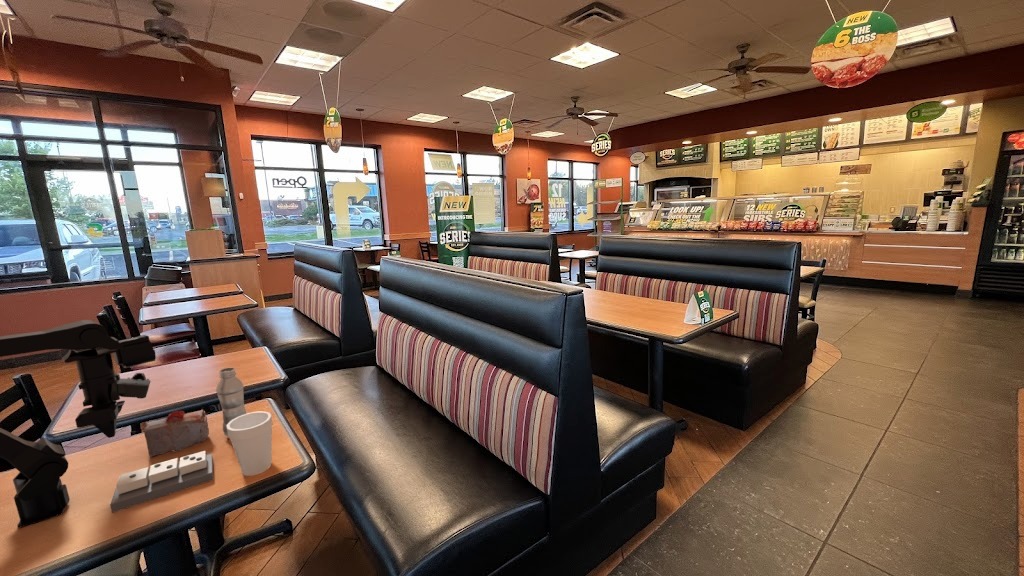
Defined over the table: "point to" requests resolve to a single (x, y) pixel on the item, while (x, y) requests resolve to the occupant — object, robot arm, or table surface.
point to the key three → (193, 462)
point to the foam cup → (252, 441)
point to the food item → (176, 432)
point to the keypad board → (162, 487)
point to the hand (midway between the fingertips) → (111, 436)
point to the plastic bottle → (230, 396)
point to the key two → (163, 470)
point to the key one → (133, 480)
